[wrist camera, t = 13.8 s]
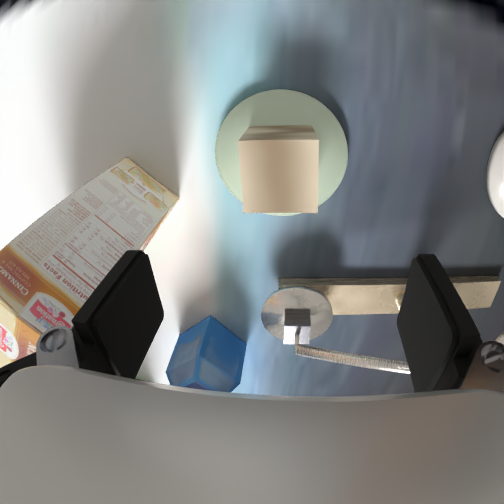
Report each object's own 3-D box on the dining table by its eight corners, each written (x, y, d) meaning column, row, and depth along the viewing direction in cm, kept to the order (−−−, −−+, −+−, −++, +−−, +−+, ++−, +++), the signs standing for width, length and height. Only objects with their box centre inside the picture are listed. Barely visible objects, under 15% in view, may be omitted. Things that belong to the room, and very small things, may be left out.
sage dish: (346, 90, 22) (348, 90, 21) (342, 211, 28) (344, 216, 27) (212, 93, 24) (209, 93, 23) (223, 211, 29) (221, 216, 28)
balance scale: (509, 264, 28) (568, 350, 16) (491, 309, 32) (534, 395, 20) (263, 265, 32) (244, 387, 20) (265, 316, 36) (251, 431, 23)
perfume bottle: (213, 360, 41) (195, 436, 31) (179, 334, 39) (151, 412, 29) (246, 344, 39) (232, 427, 28) (210, 315, 37) (185, 400, 26)
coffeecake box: (120, 286, 36) (41, 418, 19) (75, 251, 34) (-21, 369, 18) (183, 198, 29) (72, 360, 13) (126, 154, 27) (-30, 270, 11)
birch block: (311, 125, 23) (318, 139, 18) (311, 183, 26) (317, 213, 21) (249, 126, 24) (238, 140, 19) (252, 183, 26) (243, 212, 21)
